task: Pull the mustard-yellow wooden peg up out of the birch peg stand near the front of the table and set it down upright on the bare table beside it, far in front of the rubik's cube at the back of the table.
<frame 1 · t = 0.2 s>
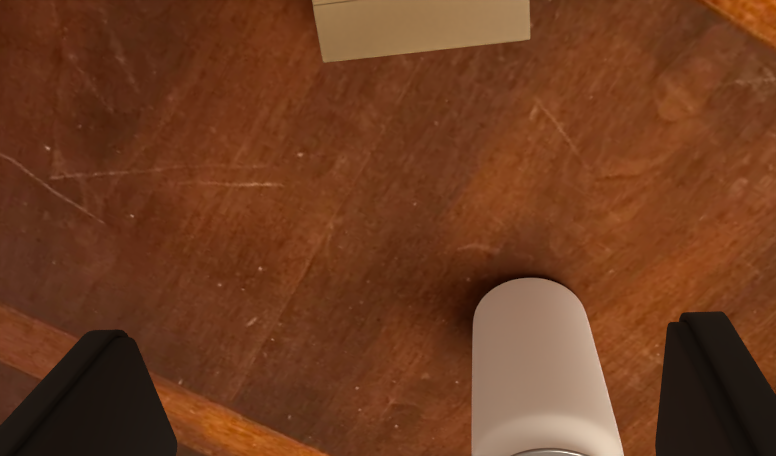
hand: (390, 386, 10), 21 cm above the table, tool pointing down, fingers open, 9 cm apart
can: (528, 317, 35), on the table
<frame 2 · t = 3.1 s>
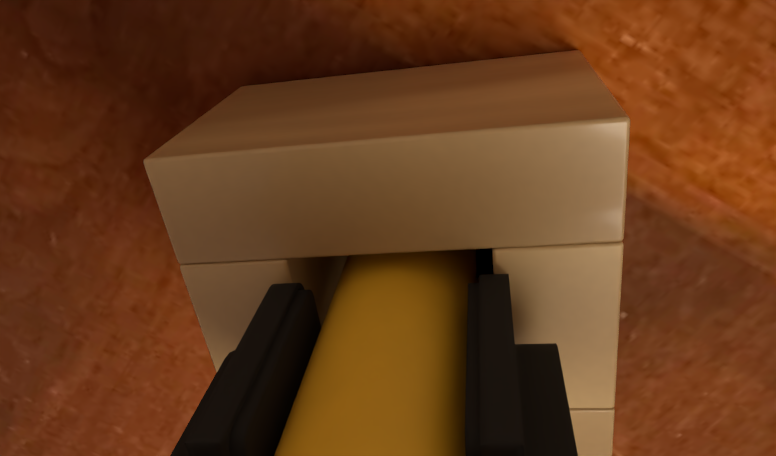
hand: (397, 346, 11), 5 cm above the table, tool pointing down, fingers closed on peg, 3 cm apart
peg: (399, 338, 11), in the stand, touching gripper
stand: (420, 220, 16), on the table
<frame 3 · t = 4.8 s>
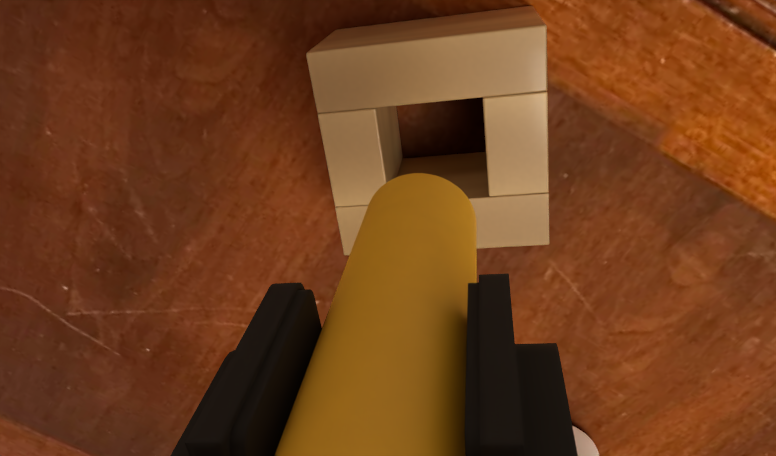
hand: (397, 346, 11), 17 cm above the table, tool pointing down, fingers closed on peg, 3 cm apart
peg: (399, 339, 12), point 16 cm above the table, touching gripper
stand: (440, 114, 26), on the table
can: (540, 451, 35), on the table
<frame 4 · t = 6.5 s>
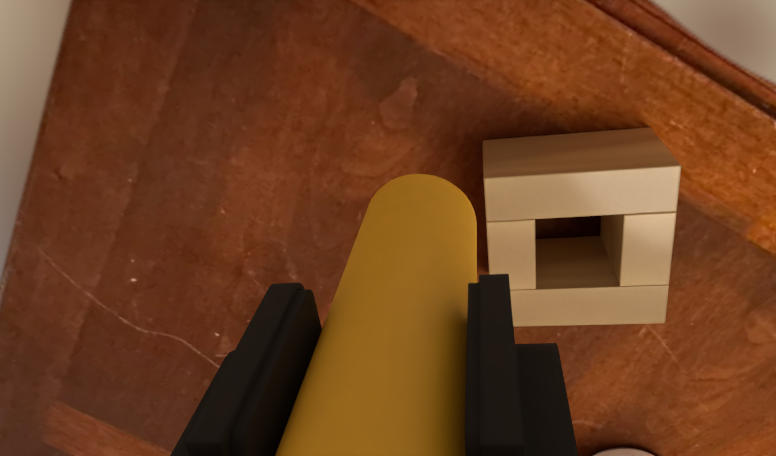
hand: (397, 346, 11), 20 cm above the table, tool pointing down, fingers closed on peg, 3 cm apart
peg: (399, 341, 11), point 20 cm above the table, touching gripper
stand: (563, 206, 31), on the table
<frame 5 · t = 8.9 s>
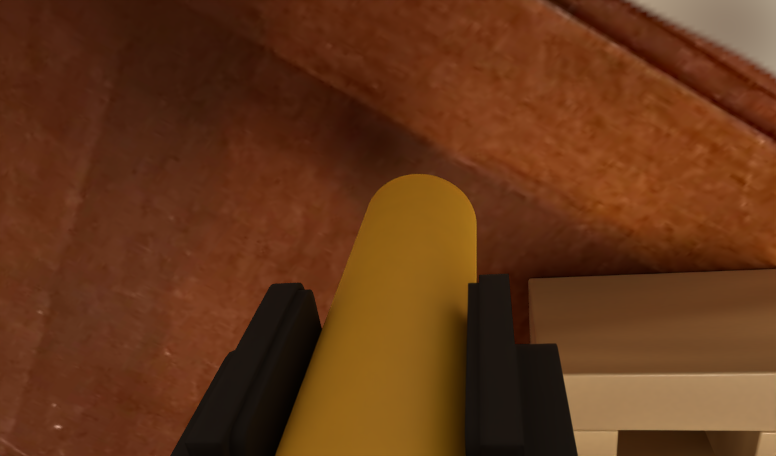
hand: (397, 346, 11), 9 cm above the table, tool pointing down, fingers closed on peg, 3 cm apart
peg: (399, 341, 11), point 9 cm above the table, touching gripper
stand: (642, 364, 22), on the table
when the fingers open (5 cm above the table, at t = 10.2 s): peg stays where it is, on the table.
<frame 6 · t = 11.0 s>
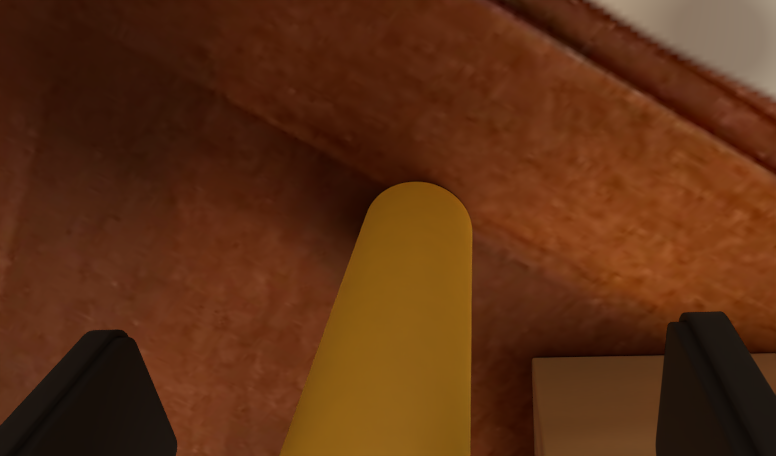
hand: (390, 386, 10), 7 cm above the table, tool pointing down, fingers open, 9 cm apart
peg: (396, 346, 12), on the table
stand: (664, 453, 19), on the table
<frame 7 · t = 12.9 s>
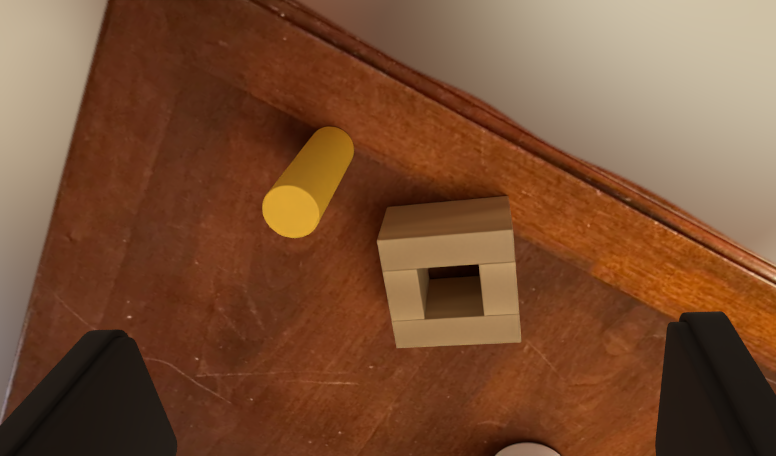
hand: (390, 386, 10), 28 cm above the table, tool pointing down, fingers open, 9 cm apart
peg: (313, 176, 34), on the table
stand: (453, 254, 41), on the table
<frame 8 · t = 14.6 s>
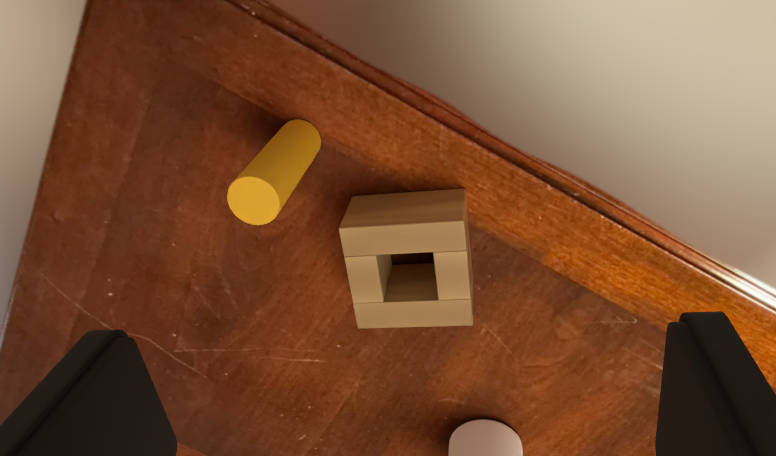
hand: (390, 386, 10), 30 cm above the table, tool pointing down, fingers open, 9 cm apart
peg: (279, 166, 37), on the table
stand: (414, 241, 44), on the table
can: (485, 440, 53), on the table
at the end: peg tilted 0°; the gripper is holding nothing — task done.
